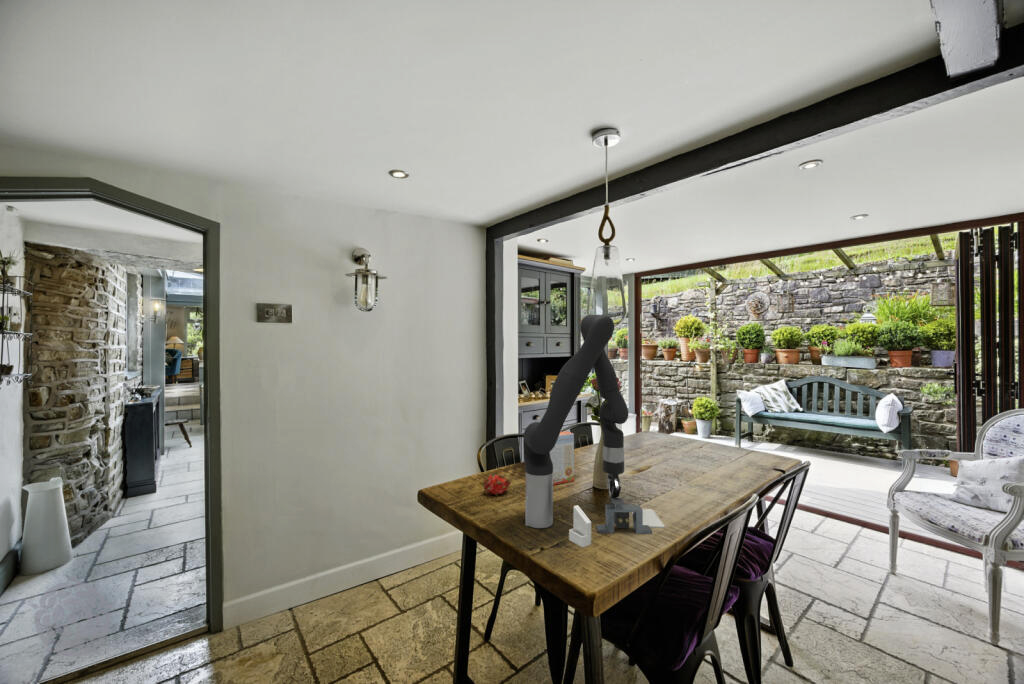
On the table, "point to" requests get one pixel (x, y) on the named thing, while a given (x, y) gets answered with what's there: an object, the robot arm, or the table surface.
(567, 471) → the cracker box
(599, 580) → the table surface
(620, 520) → the plug
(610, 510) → the grey arch bracket
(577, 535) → the white wedge bracket
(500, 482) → the dragon fruit
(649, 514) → the pad
